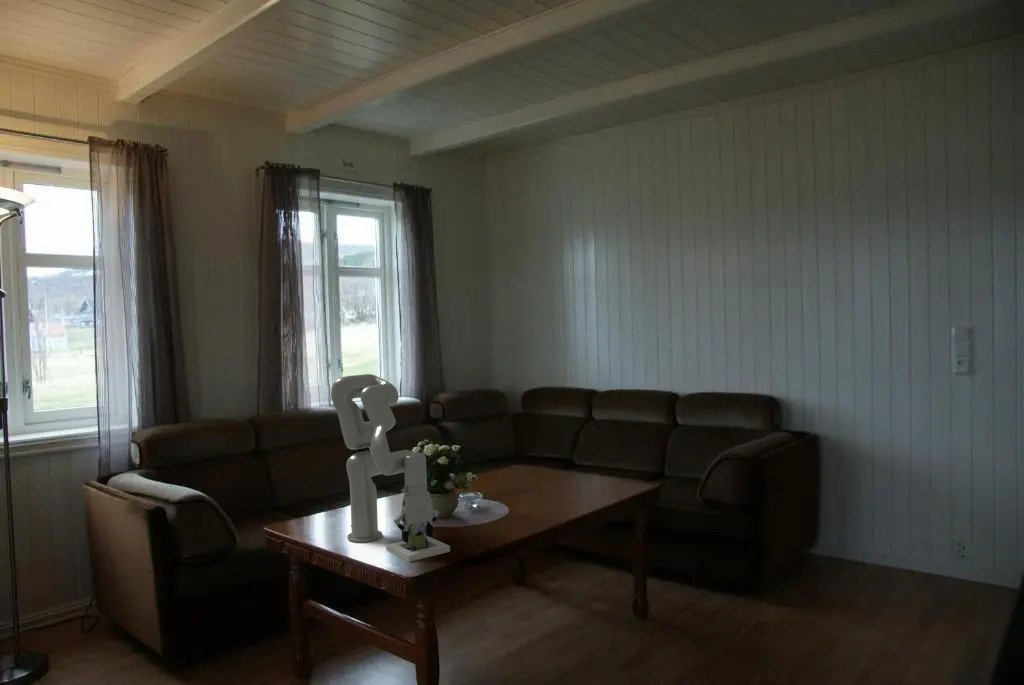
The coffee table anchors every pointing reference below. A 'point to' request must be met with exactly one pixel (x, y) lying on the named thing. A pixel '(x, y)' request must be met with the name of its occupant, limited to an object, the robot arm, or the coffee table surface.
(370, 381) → the robot arm
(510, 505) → the coffee table surface
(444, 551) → the can holder
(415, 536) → the beverage can
